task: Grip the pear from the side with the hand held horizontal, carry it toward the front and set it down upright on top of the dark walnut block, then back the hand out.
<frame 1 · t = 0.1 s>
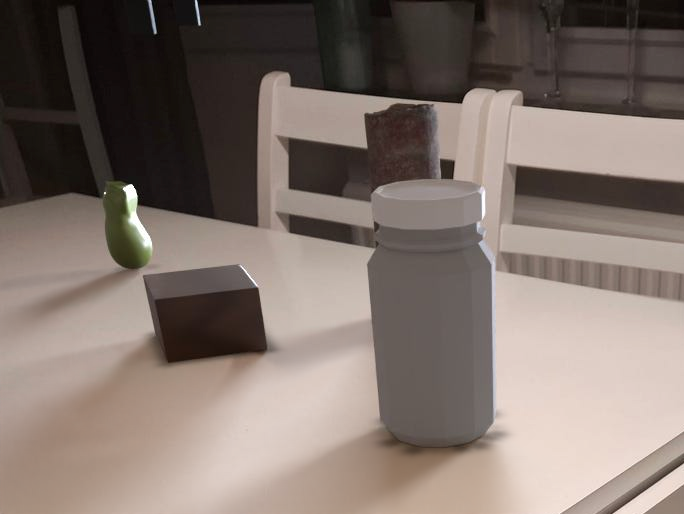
hand: (167, 30, 113), 25 cm above the table, tool pointing down, fingers open, 13 cm apart
block: (210, 342, 104), on the table
candle: (414, 319, 109), on the table
jar: (439, 430, 84), on the table
pear: (135, 270, 129), on the table
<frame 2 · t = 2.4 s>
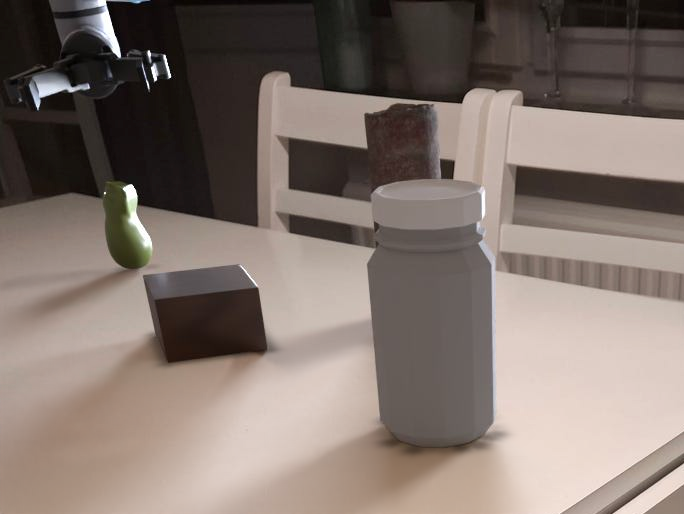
hand: (87, 89, 122), 19 cm above the table, tool horizontal, fingers open, 13 cm apart
nothing on the table moved.
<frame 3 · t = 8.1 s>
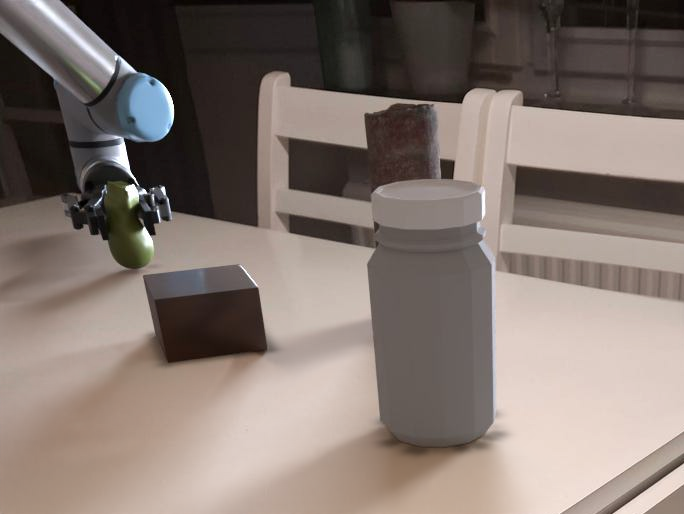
hand: (127, 225, 121), 6 cm above the table, tool horizontal, fingers closed on pear, 5 cm apart
pear: (136, 270, 129), on the table, touching gripper
everything else where it was.
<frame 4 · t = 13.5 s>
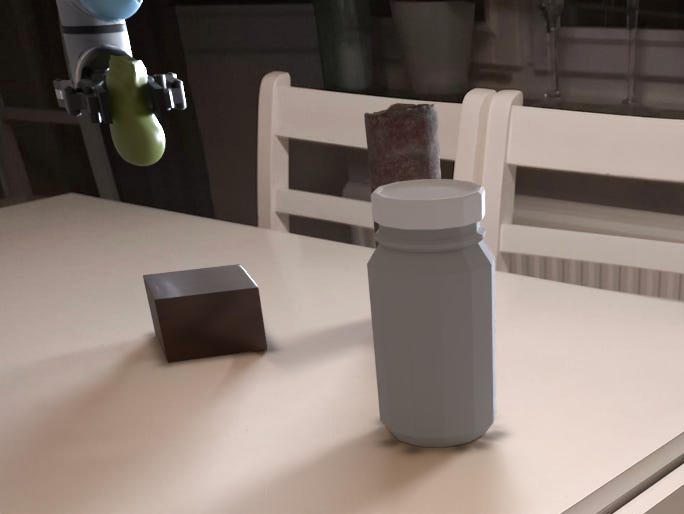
hand: (134, 106, 101), 20 cm above the table, tool horizontal, fingers closed on pear, 5 cm apart
pear: (144, 167, 108), point 14 cm above the table, touching gripper
everything else where it was.
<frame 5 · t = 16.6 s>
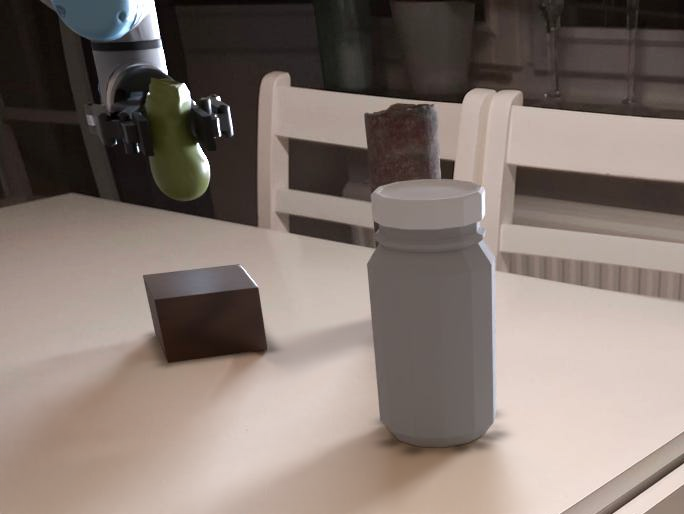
hand: (178, 136, 89), 19 cm above the table, tool horizontal, fingers closed on pear, 5 cm apart
pear: (186, 202, 97), point 13 cm above the table, touching gripper
everything else where it was.
when the fingers open (12 cm above the table, at t = 18.9 s): pear stays where it is, resting on block.
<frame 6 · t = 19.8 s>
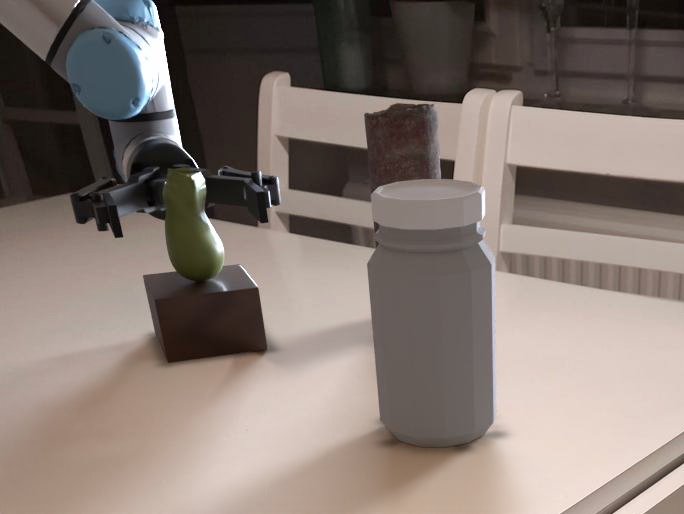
hand: (190, 214, 94), 13 cm above the table, tool horizontal, fingers open, 13 cm apart
pear: (202, 282, 101), point 6 cm above the table, touching block
everything else where it was.
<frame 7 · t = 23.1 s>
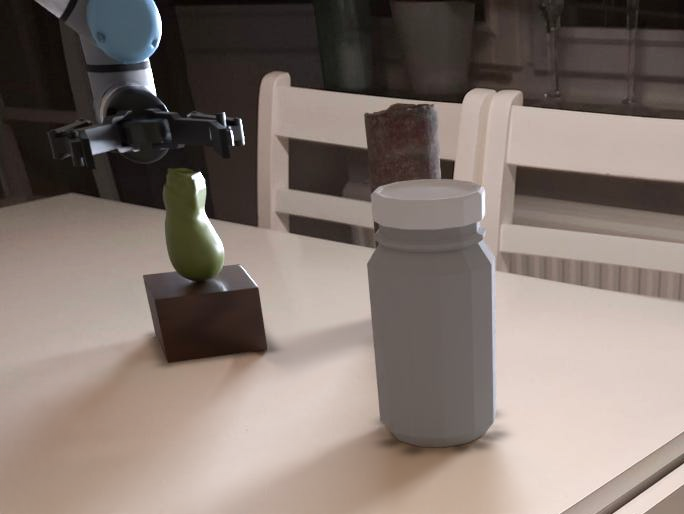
hand: (157, 148, 102), 16 cm above the table, tool horizontal, fingers open, 13 cm apart
nothing on the table moved.
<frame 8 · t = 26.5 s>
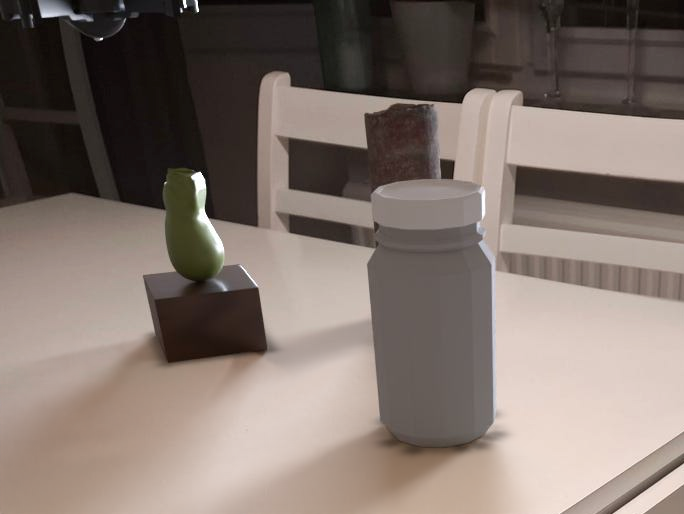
hand: (106, 4, 101), 28 cm above the table, tool horizontal, fingers open, 13 cm apart
nothing on the table moved.
at the end: pear inside the target area on the block (0.2 cm from its centre), point 5.8 cm above the block's base; pear tilted 0°; the gripper is holding nothing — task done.
